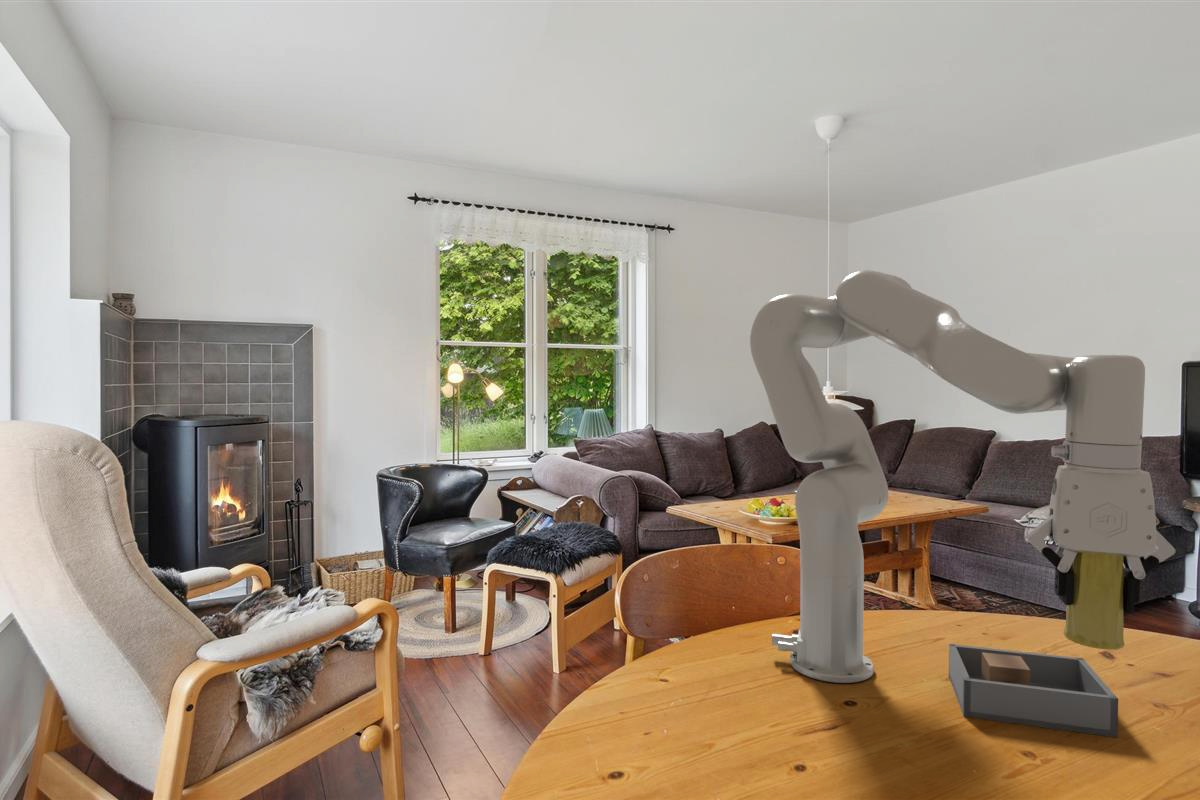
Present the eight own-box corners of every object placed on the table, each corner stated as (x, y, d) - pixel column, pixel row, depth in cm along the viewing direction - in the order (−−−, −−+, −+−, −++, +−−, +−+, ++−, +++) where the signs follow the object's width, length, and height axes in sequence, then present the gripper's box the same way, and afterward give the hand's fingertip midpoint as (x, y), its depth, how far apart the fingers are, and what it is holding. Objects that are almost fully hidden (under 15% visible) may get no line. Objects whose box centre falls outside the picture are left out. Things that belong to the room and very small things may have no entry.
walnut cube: (988, 701, 98) (989, 665, 97) (981, 686, 102) (981, 652, 102) (1029, 706, 96) (1030, 670, 96) (1020, 690, 101) (1020, 656, 101)
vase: (1135, 652, 82) (1141, 532, 81) (1076, 647, 83) (1082, 529, 82) (1108, 633, 88) (1114, 520, 87) (1054, 629, 89) (1059, 518, 88)
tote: (963, 716, 95) (964, 680, 95) (948, 675, 108) (949, 643, 108) (1117, 737, 89) (1118, 698, 89) (1082, 692, 102) (1082, 658, 102)
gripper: (1028, 457, 84) (1022, 606, 84) (1204, 465, 78) (1196, 624, 79) (1013, 450, 91) (1008, 588, 92) (1173, 457, 85) (1166, 603, 86)
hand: (1095, 603), depth 85 cm, fingers closed on vase, 5 cm apart
